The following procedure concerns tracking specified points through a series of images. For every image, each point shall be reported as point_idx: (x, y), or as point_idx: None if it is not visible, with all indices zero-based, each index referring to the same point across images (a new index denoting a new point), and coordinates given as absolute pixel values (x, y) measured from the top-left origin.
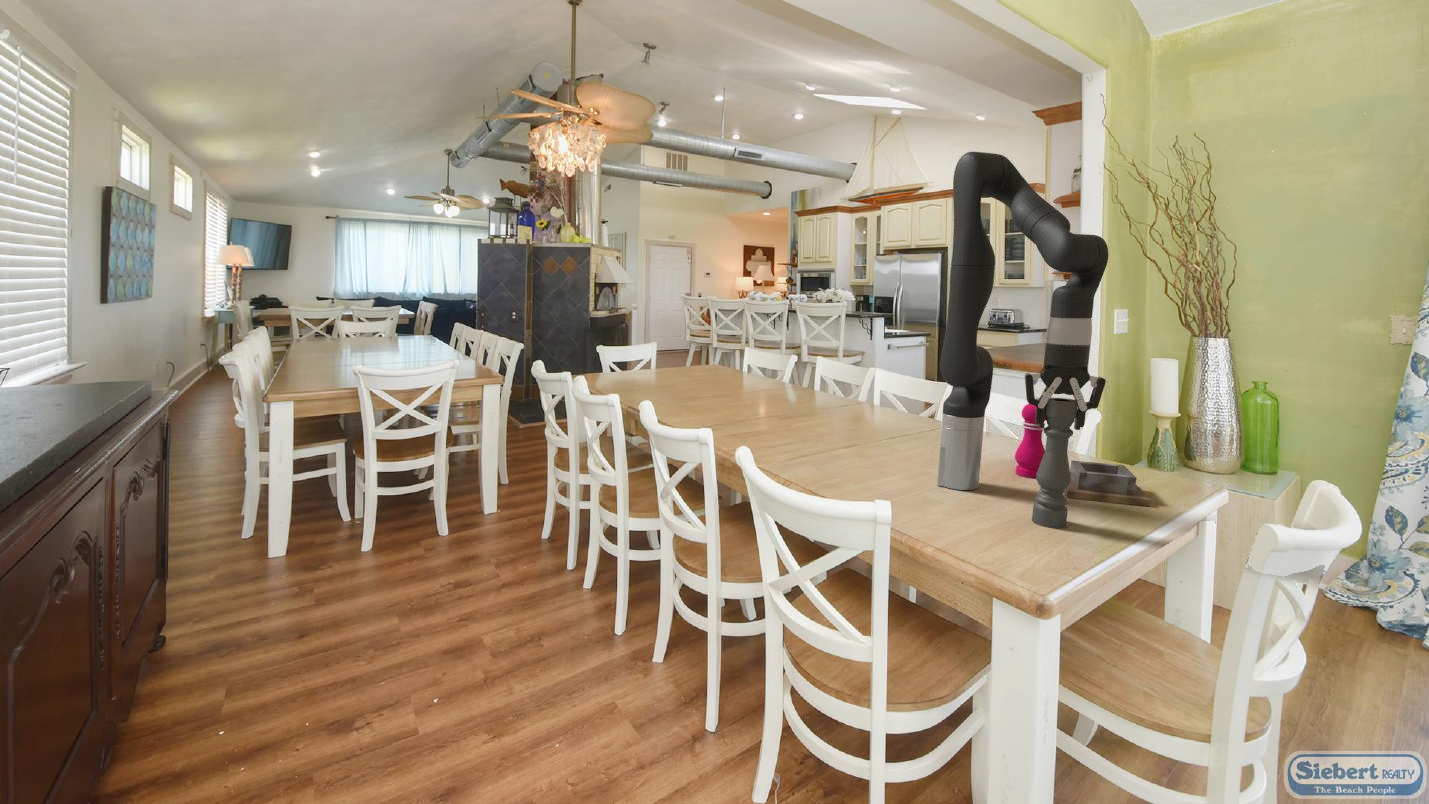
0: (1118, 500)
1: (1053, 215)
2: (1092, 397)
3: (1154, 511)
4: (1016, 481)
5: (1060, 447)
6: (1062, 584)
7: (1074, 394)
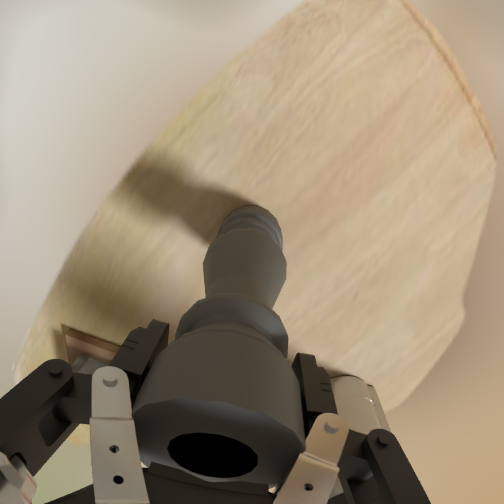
0: (103, 344)
1: None
2: (53, 433)
3: (68, 310)
4: None
5: (237, 282)
6: None
7: (139, 456)
